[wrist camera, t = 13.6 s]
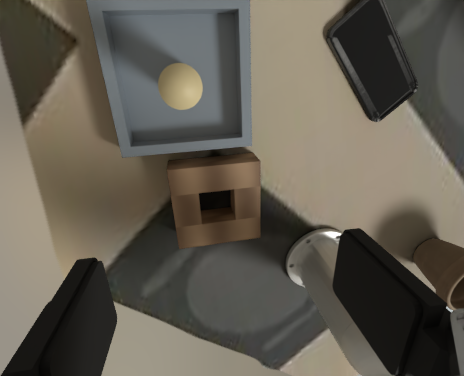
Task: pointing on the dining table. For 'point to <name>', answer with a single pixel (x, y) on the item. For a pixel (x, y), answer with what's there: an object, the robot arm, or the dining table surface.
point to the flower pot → (443, 269)
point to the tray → (169, 52)
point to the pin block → (209, 180)
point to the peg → (180, 86)
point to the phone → (373, 58)
